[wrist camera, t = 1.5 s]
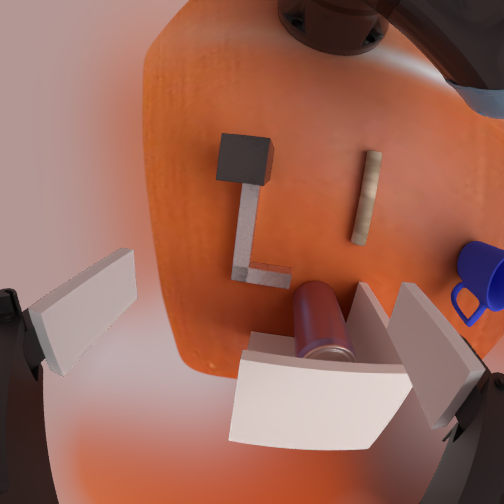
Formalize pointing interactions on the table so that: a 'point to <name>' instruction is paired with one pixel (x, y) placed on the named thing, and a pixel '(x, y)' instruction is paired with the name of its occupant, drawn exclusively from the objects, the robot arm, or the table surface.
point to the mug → (481, 278)
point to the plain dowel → (367, 197)
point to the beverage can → (320, 325)
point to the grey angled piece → (249, 204)
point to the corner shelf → (320, 388)
